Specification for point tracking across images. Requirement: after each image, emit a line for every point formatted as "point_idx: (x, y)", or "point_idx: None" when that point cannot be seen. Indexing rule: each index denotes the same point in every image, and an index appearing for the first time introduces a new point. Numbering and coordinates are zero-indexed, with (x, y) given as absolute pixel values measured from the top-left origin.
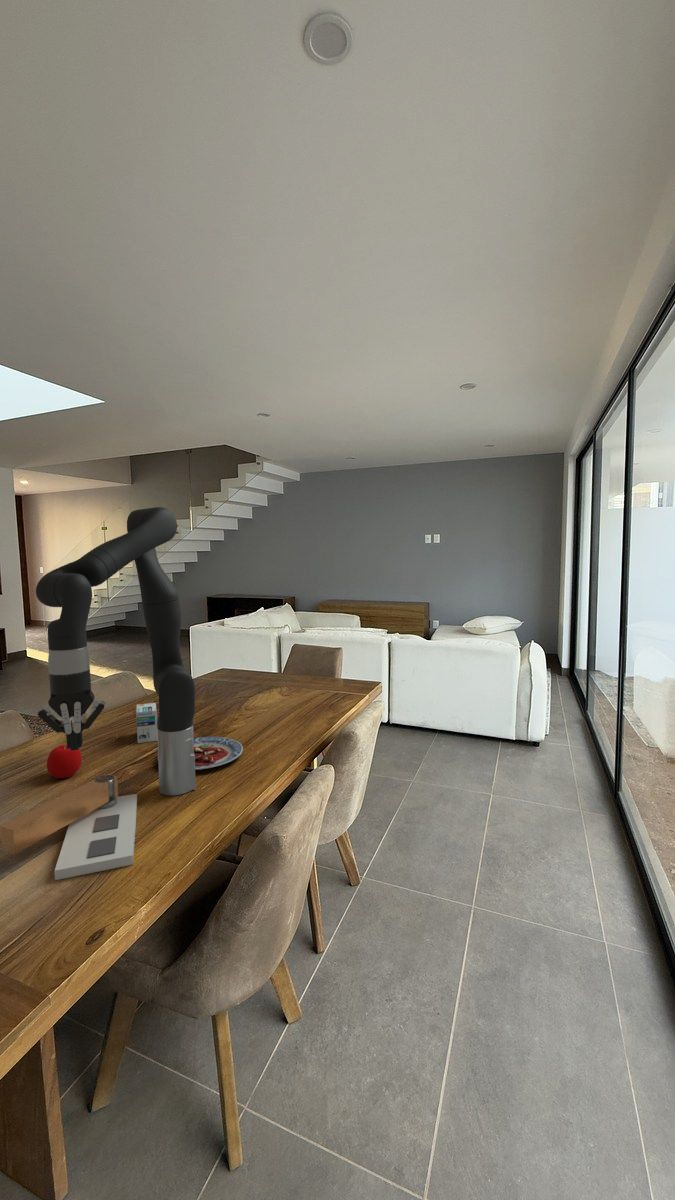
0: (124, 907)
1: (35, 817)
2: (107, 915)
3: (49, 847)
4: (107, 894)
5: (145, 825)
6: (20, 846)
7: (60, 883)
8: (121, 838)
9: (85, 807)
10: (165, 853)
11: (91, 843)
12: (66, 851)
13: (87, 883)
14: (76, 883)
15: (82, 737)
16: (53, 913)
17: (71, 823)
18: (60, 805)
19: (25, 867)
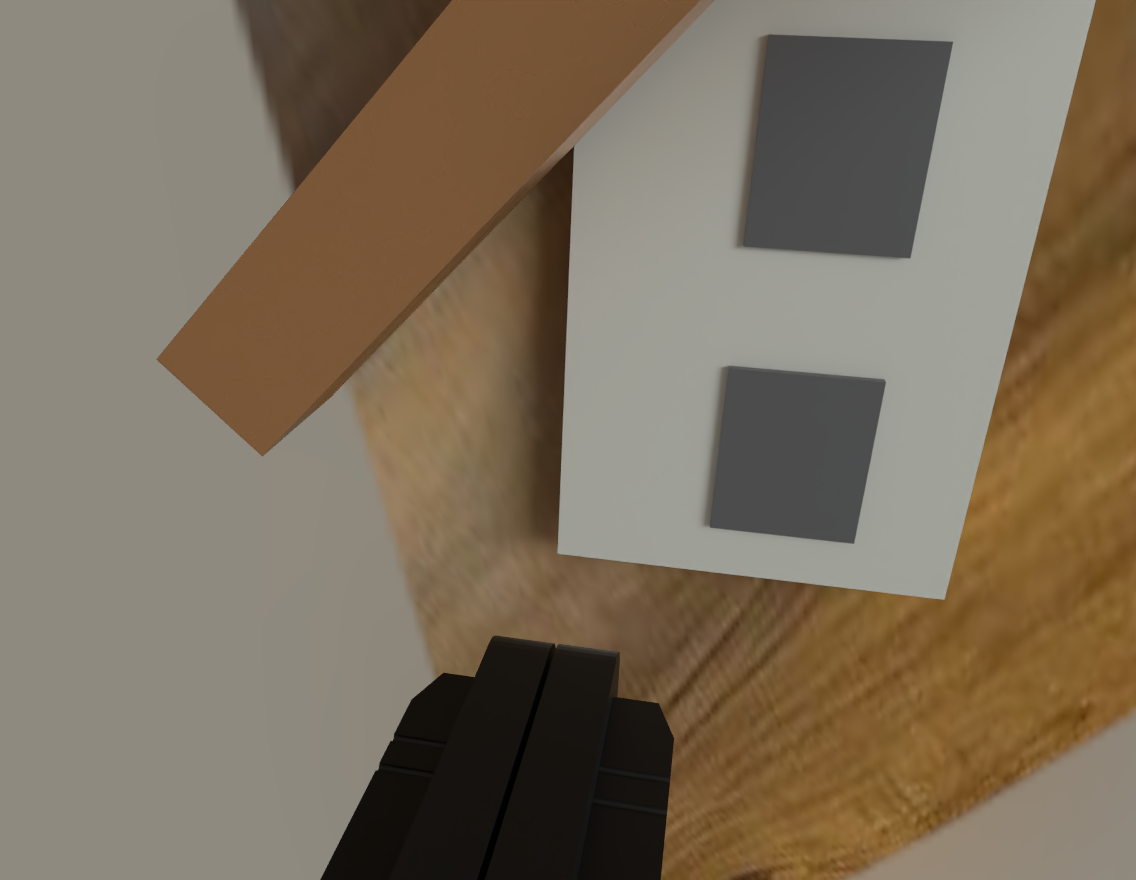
0: (848, 816)
1: (352, 331)
2: (782, 825)
3: None
4: (790, 719)
5: (1106, 159)
6: (341, 384)
7: (592, 559)
8: (912, 402)
9: (692, 18)
10: (1123, 549)
11: (732, 396)
12: (596, 401)
13: (709, 612)
14: (662, 591)
15: (665, 817)
16: None
17: None
18: (498, 199)
19: (406, 350)
